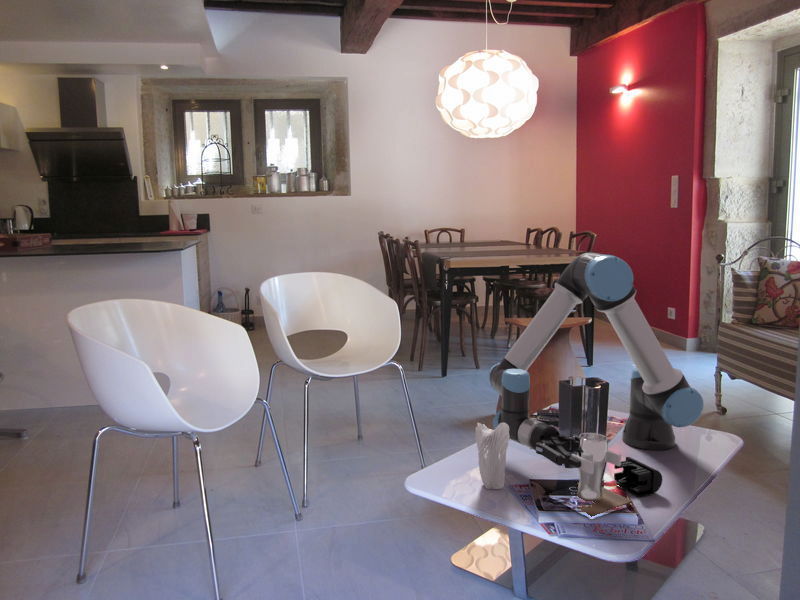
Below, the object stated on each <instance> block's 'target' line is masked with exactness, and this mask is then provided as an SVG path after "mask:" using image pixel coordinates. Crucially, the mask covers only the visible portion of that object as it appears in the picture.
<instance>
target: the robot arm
mask: <svg viewBox="0 0 800 600" xmlns="http://www.w3.org/2000/svg"><path fill="white" fill-rule="evenodd" d="M636 294H637V289H636V287H635V285H634V273H633V270H632V268H631V266H630V265H629V264H628V263H627V262H626V261H625V260H623V259H622V258H620V257H618V256H615V255H613V254H604V253H602V254H601V253H598V252H592V251H591V252H585V253H582V254H579V256H577V257H576V258H574V259H573V260H572V261H571V262H570V263H569V264H568V265H567V266H566V268H565V269H564V270H563V272H562V273H561V274H560V276H559V277H558V278H557V279H556V281H555V283H554V290H552V292H551V294H550V296H548V298H546V301H545V302H544V303H543V305H542V306H541V308H540V309H539V310H538V311H537V313H536V314H535V315H534V317H533V318H532V319H531V321H530V322H529V324H528V325H527V327H526V328H525V329H524V330H523V331H522V333H521V335H520V336H519V337H518V339H516V341H515V343H513V345H512V346H511V348H510V350H508V352H507V353H506V355H505V356H504V357H503V359H502V360H501V361H500V362H499V363H495V364H494V365H492V366H491V367H490V369H489V371H488V374H487V377H488V381H489V383H490V385H491V387H492V389H494V390H495V391H497V393H498V394H499V395H500V396H501V409H500V410H497V412H496V413H495V415H494V418H493V419H492V426H493V430H495V429H496V428H497V426H498V425H499V424H500V423H506V424H507V425H508V426H509V436H510V438H509V440H511V441H513V442H516V443H518V444H520V445H522V446H525V447H527V448H529V450H534V451H535V453H536V454H537V455H540V456H543V457H544V458H545V459H547V460H549V461H551V462H552V463H553V464H555V465H557V466H562V467H563V465H564V468H565V469H570V466H572V467H574V468H577V469H578V470H579V469H580V470H583V471H585V472H587V473H589V474H594V462H592V461H589V460H587V459H584V458H582V457H580V456H578V454H576V453H578V444H579V436H580V435H577V434H575V433H573V434H571V437H569V436H566V435H563V434H560V432H559V430H558V429H557V428H556V427H555V426H552V425H549V424H548V423H545V422H542V421H539V420H537V419H535V418H532V417H530V398H531V397H530V395H531V394H530V391H531V379H530V372H528V370H529V368H530V367H531V366H532V365H533V363H534V362H535V361H536V359H537V357H539V355H540V354H541V352H542V351H543V350H544V349H545V347H546V346H547V344H548V343H549V342H550V340H551V339H552V338H553V336H554V335H555V334H556V332H557V331H558V329H559V328H560V327H561V325H562V324H563V323H564V322H565V320H566V319H567V318H568V316H569V315H570V314H571V312H572V311H573V310H574V309H575V308H576V306H577V305H579V304H583V303H584V301H585V300H586V299H587V298H588V297H589V299H590V301H591V303H592V304H593V306H594V307H595V309H596V311H598V312H601V313H604V314H605V315H606V317H607V320H608V321H609V322H610V324H611V326H612V327H613V329H614V331H615V332H616V334H617V336H618V338H619V340H620V342H621V344H622V345H623V348H625V350H626V352H627V354H628V355H629V357H630V359H631V361H632V363H633V364H634V366H635V367H636V368H634V369H632V371H631V377H630V393H629V396H630V397H629V415H628V417H627V420H626V423H625V425H624V428H623V431H622V441H623V442H624V443H626V444H627V445H629V446H631V447H635V448H638V449H643V450H648V451H649V450H650V451H651V450H652V451H665V450H670V449H673V448H674V447H675V446H676V436H675V433H674V428H673V427H676V428H686V427H689V426H691V425H693V424H694V423H696V422H697V421H698V420H699V418H700V417H701V416H702V412H703V410H704V406H705V405H704V400H703V399H704V398H703V396H702V394H701V393H699V391H698V390H697V389H695V388H693V387H692V386H691V385H690V384H689V382H688V380H687V378H686V377H685V375H684V374H683V372H682V370H680V369H679V368H675V367H673V365H672V363H671V362H670V359H669V358H668V357H667V355H666V354H667V353H665V351H664V349H663V347H662V345H661V344H660V341H659V340H658V339H657V337H656V335H655V333H654V331H653V329H652V328H651V326H650V324H649V322H648V320H647V319H646V317H645V315H644V313H643V311H642V309H641V308H640V306H639V304H638V303H637V301H636V299H635V297H636ZM575 452H576V453H575ZM570 453H571V454H570ZM621 462H622V455H621V454H619V453H617V452H614V451H612V450H609V449H608V456H607V463H610V464H612V465H614V466H615V465H616V466H621Z"/></svg>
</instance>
